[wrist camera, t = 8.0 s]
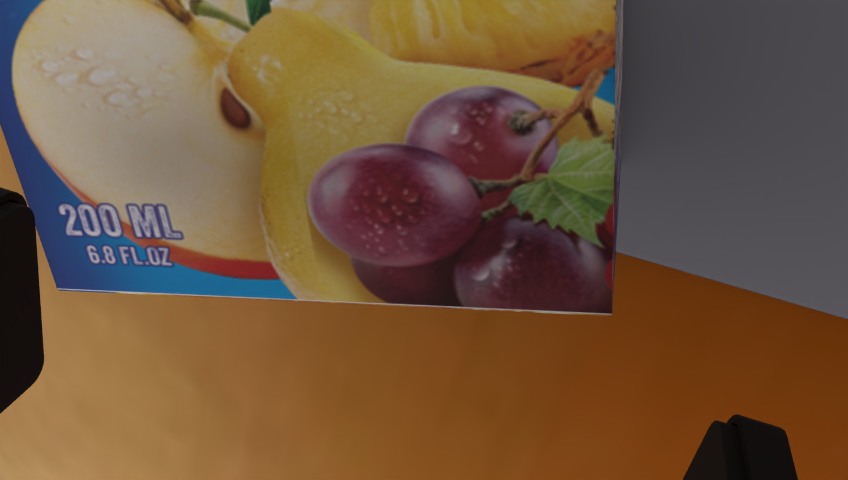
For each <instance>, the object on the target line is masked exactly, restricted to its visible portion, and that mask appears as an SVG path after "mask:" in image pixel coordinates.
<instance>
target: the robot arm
mask: <svg viewBox="0 0 848 480" xmlns="http://www.w3.org/2000/svg"><path fill="white" fill-rule="evenodd" d="M43 364H44V350H43V335H42V320H41V305H40V289H39V274H38V259H37V244H36V229H35V217H34V213H33V211H32V210H31V209H30V208H28V207H27V204H26V201H25V199H24V198H23V196H22V195H20V194H19V193H17V192H13V191H10V190H7V189H4V188H0V413H2V412H3V411H4V410H5V409H6V408H7V407H8V406H9V405H10V404H12V403H13V402H14V401H15V400H16V399H17V398H18V397H19V396H20V395H22V394H23V393H24V392H25V391H26V390H27V389H28V388H29V387H30V386H31V385H32V384H33V383H34V382H35V381H36V380H37V378H38V377H39V375H40V373H41V370H42V367H43ZM683 480H798V479H797V475H796V471H795V466H794V462H793V458H792V454H791V450H790V446H789V442H788V438H787V435H786V433H785V431H784V430H783V429H782V428H779V427H776V426H773V425H770V424H767V423H763V422H760V421H757V420H754V419H750V418H747V417H744V416H741V415H733V416H732V417H731V418H730V419H729V420H728V422H727V424H726V423H723V422H720V421H714V422H713V423H712V424H711V426H710V427H709V429H708V431H707V433H706V435H705V437H704V439H703V441H702V443H701V445H700V447H699V449H698V450H697V452H696V454H695V456H694V458H693V460H692V462H691V464H690V466H689V468H688V470H687V472H686V474H685V476H684V478H683Z"/></svg>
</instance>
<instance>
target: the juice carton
mask: <svg viewBox="0 0 848 480" xmlns="http://www.w3.org/2000/svg"><path fill="white" fill-rule="evenodd" d="M623 4H624V0H0V125H1V128H2V131H3V133H4V136H5V139H6V142H7V145H8V148H9V151H10V154H11V156H12V159H13V162H14V165H15V168H16V171H17V174H18V177H19V180H20V182H21V185H22V188H23V191H24V194H25V197H26V200H27V203H28V205H29V208H30V209H31V210H32V211H33V213H34V217H35V226H36V229H37V231H38V234H39V237H40V240H41V243H42V246H43V249H44V252H45V254H46V257H47V260H48V263H49V266H50V269H51V272H52V275H53V277H54V280H55V283H56V286H57V289H58V290H61V291H82V292H104V293H125V294H146V295H168V296H189V297H211V298H232V299H254V300H275V301H297V302H318V303H340V304H361V305H383V306H404V307H426V308H447V309H469V310H490V311H512V312H533V313H555V314H576V315H598V316H610V315H612V305H613V288H614V271H615V254H616V237H617V220H618V203H619V186H620V169H621V124H622V64H623Z"/></svg>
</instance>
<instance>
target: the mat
mask: <svg viewBox="0 0 848 480" xmlns="http://www.w3.org/2000/svg"><path fill="white" fill-rule="evenodd" d="M616 252H619V253H622V254H625V255H629V256H632V257H636V258H639V259H643V260H646V261H650V262H653V263H656V264H660V265H663V266H667V267H670V268H674V269H677V270H680V271H684V272H687V273H691V274H694V275H698V276H701V277H704V278H708V279H711V280H715V281H718V282H722V283H725V284H728V285H732V286H735V287H739V288H742V289H746V290H749V291H753V292H756V293H759V294H763V295H766V296H770V297H773V298H777V299H780V300H783V301H787V302H790V303H794V304H797V305H801V306H804V307H807V308H811V309H814V310H818V311H821V312H825V313H828V314H831V315H835V316H838V317H842V318H845V319H848V0H624V4H623V64H622V124H621V169H620V186H619V203H618V220H617V237H616Z"/></svg>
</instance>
